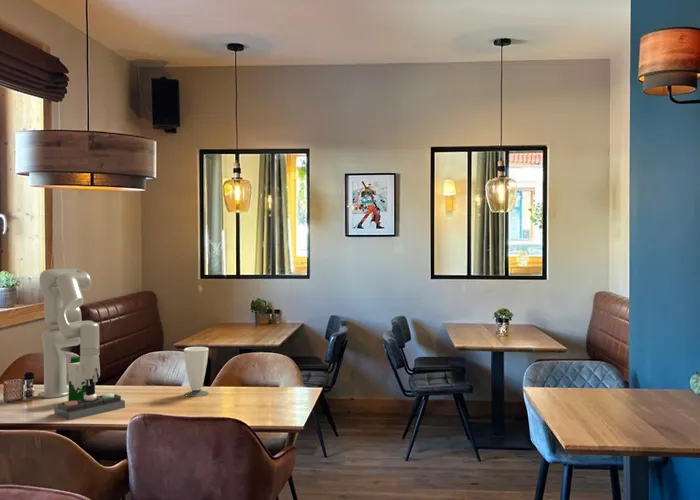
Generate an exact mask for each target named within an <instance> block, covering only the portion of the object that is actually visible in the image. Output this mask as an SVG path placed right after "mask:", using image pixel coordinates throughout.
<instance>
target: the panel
mask: <svg viewBox="0 0 700 500" xmlns="http://www.w3.org/2000/svg"><path fill="white" fill-rule="evenodd" d="M113 394H114V397H111V398H106V399H104V398H102V395H103V394H101V395H97V399H96V400H93V401H84V399H81V400H76V401H78V404H77V405H72V406H68V407H67V406H65V402H62V403H58V404H57V405H55V406H53V407H54V409H53V411H54V412H53V413H54V415H57V416H59V417H60V418H63V419H66V420H68V421H72V420H75V419H80V418H85V417H89V416H94V415H98V414H99V415H100V414H103V413H106V412H111V411H115V410H121V409H124V408H126V401H125V399H122V395H119V394H117V393H113Z"/></svg>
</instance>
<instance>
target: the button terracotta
mask: <svg viewBox="0 0 700 500" xmlns="http://www.w3.org/2000/svg"><path fill="white" fill-rule="evenodd" d="M64 403H65V406H67V407H68V406H72V405H77V404H78V401H68V400H67V401H64Z"/></svg>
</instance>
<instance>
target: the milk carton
mask: <svg viewBox="0 0 700 500" xmlns="http://www.w3.org/2000/svg"><path fill="white" fill-rule="evenodd" d="M79 364H80V356H72V357H70V361H69V362H66V368H67V370H68V390H69V394H68V398H67V399H68V400H67V401H76V400H81V399H84V395H85V394H86V385H85V380H84V379H83V378H81V377H80V376H79Z"/></svg>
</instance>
